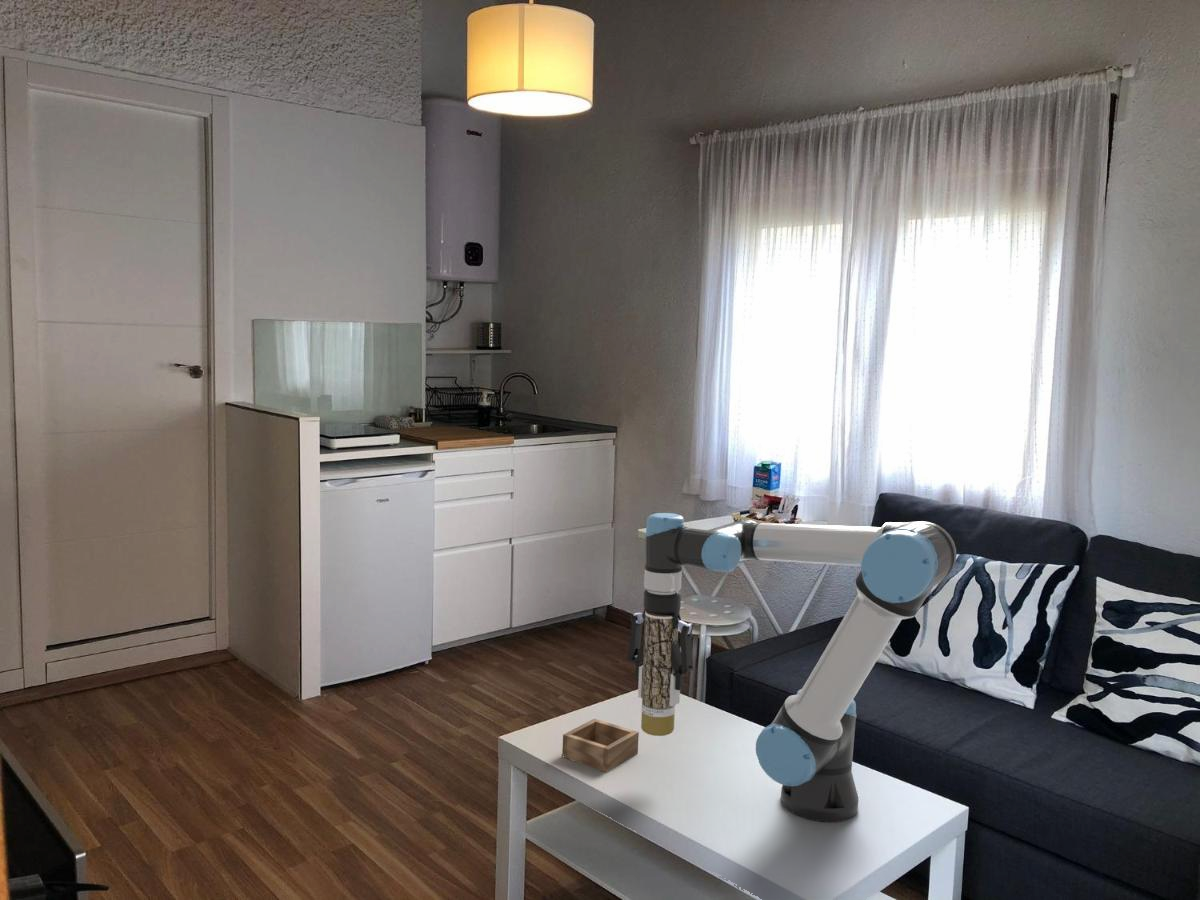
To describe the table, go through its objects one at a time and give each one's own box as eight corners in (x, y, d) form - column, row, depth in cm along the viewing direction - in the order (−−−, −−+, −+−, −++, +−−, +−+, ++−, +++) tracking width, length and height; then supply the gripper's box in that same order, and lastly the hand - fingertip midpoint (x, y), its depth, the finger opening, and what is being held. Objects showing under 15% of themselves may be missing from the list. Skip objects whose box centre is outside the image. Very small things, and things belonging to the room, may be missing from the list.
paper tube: (671, 738, 203) (676, 617, 200) (638, 735, 204) (642, 614, 201) (676, 726, 209) (680, 609, 206) (643, 722, 211) (647, 606, 208)
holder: (637, 753, 222) (638, 732, 221) (607, 772, 212) (608, 749, 212) (593, 739, 229) (594, 718, 228) (562, 756, 219) (563, 734, 218)
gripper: (714, 594, 201) (710, 705, 203) (631, 578, 212) (628, 684, 215) (696, 602, 195) (691, 716, 197) (611, 585, 206) (608, 694, 208)
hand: (658, 699), depth 206 cm, fingers closed on paper tube, 7 cm apart
